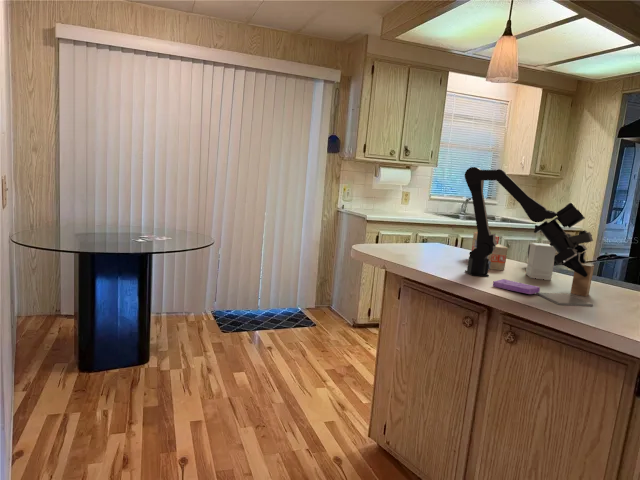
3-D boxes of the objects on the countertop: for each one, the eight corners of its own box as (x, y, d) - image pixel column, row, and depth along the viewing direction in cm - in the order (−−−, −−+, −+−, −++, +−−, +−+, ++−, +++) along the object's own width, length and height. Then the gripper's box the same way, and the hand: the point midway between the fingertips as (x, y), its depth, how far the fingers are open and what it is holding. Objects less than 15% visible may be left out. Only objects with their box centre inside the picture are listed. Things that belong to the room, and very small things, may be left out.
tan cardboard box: (504, 270, 175) (509, 240, 173) (489, 269, 175) (493, 239, 173) (483, 259, 196) (487, 232, 194) (469, 258, 196) (473, 231, 194)
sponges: (503, 284, 151) (503, 278, 151) (540, 292, 141) (540, 286, 141) (492, 286, 146) (492, 280, 146) (529, 294, 137) (530, 288, 136)
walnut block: (570, 293, 146) (575, 263, 144) (573, 291, 149) (578, 262, 147) (585, 296, 143) (591, 266, 141) (588, 294, 146) (594, 264, 145)
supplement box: (551, 280, 163) (557, 247, 161) (530, 278, 164) (535, 244, 162) (545, 276, 170) (551, 244, 168) (525, 273, 172) (530, 241, 170)
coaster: (559, 304, 130) (559, 303, 130) (536, 294, 141) (536, 292, 141) (592, 306, 132) (593, 304, 132) (567, 295, 142) (567, 293, 142)
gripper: (571, 223, 138) (606, 264, 132) (584, 221, 152) (616, 258, 146) (540, 243, 144) (572, 284, 139) (556, 239, 158) (585, 276, 153)
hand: (588, 275), depth 144 cm, fingers closed on walnut block, 4 cm apart
